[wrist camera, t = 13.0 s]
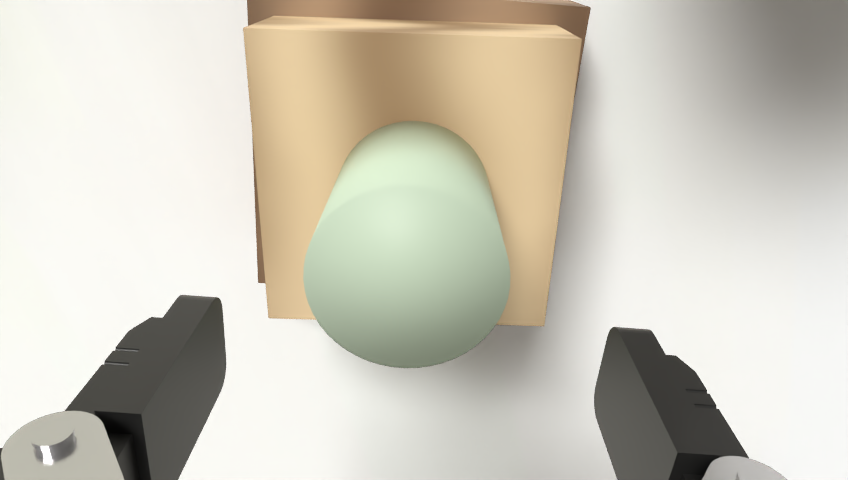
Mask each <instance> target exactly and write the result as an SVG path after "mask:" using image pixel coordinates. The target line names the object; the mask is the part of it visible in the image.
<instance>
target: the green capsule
mask: <svg viewBox="0 0 848 480" xmlns="http://www.w3.org/2000/svg"><path fill="white" fill-rule="evenodd" d="M303 281H304V288H305V294H306V297H307V301H308V304H309V306H310V308H311V311H312V313H313V315H314V316H315V318H316V320H317V321H318V323H319V324H320V326H321V327H322V328H323V329H324V331H325V332H326V333H327V334H328V335H329V336H330V337H331V338H332V339H333V340H334V341H335V342H336V343H338V344H339V345H340V346H342V347H343V348H344V349H346V350H347V351H349V352H351V353H353V354H354V355H356V356H358V357H360V358H363V359H365V360H367V361H370V362H373V363H377V364H380V365H385V366H390V367H399V368H420V367H427V366H433V365H437V364H441V363H444V362H447V361H449V360H452V359H455V358H457V357H459V356H461V355H462V354H464V353H466V352H468V351H469V350H471V349H472V348H474V347H475V346H476V345H477V344H479V343H480V342H481V341H482V340H483V339H484V338H485V337H486V336H487V335H488V334H489V333H490V332H491V331H492V329H493V328H494V327H495V325H496V324H497V322H498V321H499V319H500V317H501V315H502V313H503V311H504V309H505V306H506V303H507V300H508V296H509V290H510V266H509V260H508V256H507V252H506V249H505V245H504V241H503V237H502V233H501V229H500V225H499V221H498V217H497V213H496V209H495V205H494V201H493V197H492V193H491V190H490V186H489V182H488V178H487V174H486V171H485V168H484V166H483V164H482V161H481V160H480V158H479V156H478V155H477V153H476V152H475V151H474V149H473V148H472V147H471V146H470V145H469V144H468V143H467V142H466V141H465V140H464V139H463V138H461V137H460V136H459V135H457V134H456V133H454V132H452V131H451V130H449V129H447V128H445V127H442V126H439V125H437V124H433V123H428V122H422V121H403V122H397V123H392V124H389V125H386V126H383V127H381V128H379V129H377V130H375V131H373V132H371V133H370V134H368V135H367V136H365V137H364V138H363V139H362V140H361V141H359V142H358V143H357V145H356V146H355V147H354V148H353V149H352V150H351V152H350V153H349V155H348V156H347V158H346V160H345V162H344V164H343V166H342V168H341V171H340V173H339V175H338V178H337V180H336V182H335V185H334V187H333V189H332V192H331V194H330V197H329V199H328V201H327V204H326V206H325V208H324V211H323V213H322V215H321V218H320V220H319V223H318V225H317V227H316V230H315V232H314V234H313V237H312V239H311V241H310V244H309V247H308V250H307V253H306V256H305V262H304V272H303Z"/></svg>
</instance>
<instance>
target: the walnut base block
mask: <svg viewBox="0 0 848 480" xmlns="http://www.w3.org/2000/svg"><path fill="white" fill-rule="evenodd" d="M247 8H248V26H250V25H252V24H255V23H257V22H260V21H262V20H265V19H267V18H270V17H272V16H296V17H327V18H357V19H388V20H418V21H448V22H479V23H509V24H540V25H557V26H559V27H561V28H563V29H565V30H566V31H568V32H570V33H572V34H574V35H575V36H577V37H579V38H581V39H582V42H581V49H580V57H579V65H578V72H577V80H578V75H579V69H580V64H581V58H582V53H583V47H584V42H585V36H586V30H587V25H588V19H589V14H590V7H588V6H585V5H582V4H579V3H576V2H573V1H570V0H247ZM577 80H576V86H577ZM575 92H576V88H575ZM574 97H575V95H574ZM252 136H253V134H252ZM253 161H254V187H255V212H256V238H257V264H258V283H265V271H264V260H263V248H262V237H261V225H260V214H259V203H258V191H257V180H256V168H255V157H254V145H253Z"/></svg>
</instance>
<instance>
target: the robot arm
mask: <svg viewBox="0 0 848 480" xmlns="http://www.w3.org/2000/svg"><path fill="white" fill-rule="evenodd" d="M225 372H226V352H225V338H224V324H223V311H222V304H221V301H220V299H219V298H217V297H203V296H190V295H180V296H179V297H178V298H177V299H176V301H175V302H174V303H173V305H172V306H171V307H170V309H169V310H168V312H167V313H166V314H165V316H164V317H163V318H156V317H151V318H149V319H147V320H146V321H144V322H143V323H141V324H139V325H138V326H136V327H134V328H133V329H131V330H130V331H129V332H128V333H127V334H126V335H125V337H124V338H123V339H122V340H121V342H120V343H119V344H118V345H117V347H116V350H115V351H112V353H111V354H110V355H109V356H108V358H107V359H106V360H105V364H104V365H101V366H100V368H99V369H98V370H97V371H96V373H95V374H94V375H93V376H92V378H91V379H90V380H89V381H88V383H87V384H86V385H85V386H84V388H83V389H82V390H81V391H80V393H79V394H78V395H77V396H76V398H75V399H74V400H73V401H72V403H71V404H70V405H69V406H68V408H67V409H66V410H65V411H63V412H57V413H53V414H49V415H46V416H43V417H40V418H38V419H36V420H33V421H31V422H29V423H28V424H26V425H24V426H23V427H21V428H20V429H19V430H17V431H16V432H15V433H14V434H13V435H12V436H11V437H10V438H9V439H8V440H7V441H6V443H5V445H4V447H3V448H0V480H178V479H179V476H180V474H181V472H182V470H183V468H184V466H185V464H186V462H187V460H188V458H189V456H190V454H191V452H192V450H193V448H194V446H195V443H196V441H197V439H198V437H199V435H200V433H201V431H202V429H203V427H204V425H205V423H206V421H207V419H208V417H209V415H210V412H211V410H212V408H213V406H214V404H215V402H216V400H217V398H218V396H219V394H220V392H221V389H222V386H223V383H224V378H225ZM594 407H595V415H596V419H597V422H598V425H599V428H600V430H601V433H602V436H603V439H604V442H605V445H606V448H607V451H608V453H609V456H610V459H611V462H612V465H613V468H614V471H615V474H616V477H617V479H618V480H787V479H786V478H785V477H784V476H782V475H781V474H780V473H778V472H777V471H775V470H774V469H772V468H770V467H769V466H767V465H765V464H763V463H760V462H758V461H755V460H752V459H749V457H748V456H747V454H746V452H745V451H744V449H743V448H742V446H741V444H740V443H739V441H738V440H737V438H736V436H735V435H734V433H733V431H732V430H731V428H730V427H729V425H728V423H727V422H726V420H725V419H724V417H723V415H722V414H721V412H720V410H719V409H716V404H715V402H714V401H713V399H712V398H711V396H710V394H707V390H706V388H705V386H704V385H703V383H702V381H701V380H700V378H699V377H698V375H697V373H696V372H695V371H694V370H692V369H691V368H690V367H689V366H688V365H686V364H685V363H684V362H683V361H682V360H680V359H679V358H678V357H677V356H673V355H665V353H664V351H663V349H662V348H661V346H660V344H659V342H658V341H657V339H656V337H655V335H654V334H653V332H652V331H651V330H647V329H634V328H620V327H613V328H612V329H611V330H610V331H609V334H608V337H607V341H606V345H605V349H604V353H603V358H602V362H601V366H600V370H599V374H598V379H597V383H596V387H595V395H594Z"/></svg>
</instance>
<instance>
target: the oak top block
mask: <svg viewBox="0 0 848 480" xmlns="http://www.w3.org/2000/svg"><path fill="white" fill-rule="evenodd" d="M243 31H244V42H245V54H246V65H247V77H248V88H249V99H250V111H251V122H252V134H253V145H254V157H255V168H256V180H257V191H258V203H259V214H260V225H261V237H262V248H263V260H264V271H265V283H266V294H267V306H268V317H269V318H281V319H315V320H316V318H315V316H314V315H313V313H312V311H311V308H310V306H309V304H308V301H307V297H306V294H305V288H304V281H303V272H304V262H305V256H306V253H307V250H308V247H309V244H310V241H311V239H312V237H313V234H314V232H315V230H316V227H317V225H318V223H319V220H320V218H321V215H322V213H323V211H324V208H325V206H326V204H327V201H328V199H329V197H330V194H331V192H332V189H333V187H334V185H335V182H336V180H337V178H338V175H339V173H340V171H341V168H342V166H343V164H344V162H345V160H346V158H347V156H348V155H349V153H350V152H351V150H352V149H353V148H354V147H355V146H356V145H357V143H358V142H359V141H361V140H362V139H363V138H364V137H365V136H367V135H368V134H370V133H371V132H373V131H375V130H377V129H379V128H381V127H383V126H386V125H389V124H392V123H397V122H403V121H422V122H428V123H433V124H437V125H439V126H442V127H445V128H447V129H449V130H451V131H452V132H454V133H456V134H457V135H459V136H460V137H461V138H463V139H464V140H465V141H466V142H467V143H468V144H469V145H470V146H471V147H472V148H473V149H474V151H475V152H476V153H477V155H478V156H479V158H480V160H481V161H482V164H483V166H484V168H485V171H486V174H487V178H488V182H489V186H490V190H491V193H492V197H493V201H494V205H495V209H496V213H497V217H498V221H499V225H500V229H501V233H502V237H503V241H504V245H505V249H506V252H507V256H508V260H509V266H510V290H509V296H508V300H507V303H506V306H505V309H504V311H503V313H502V315H501V317H500V319H499V321H498V322H497V324H496V325H520V326H544V324H545V316H546V309H547V301H548V293H549V286H550V278H551V270H552V263H553V255H554V248H555V240H556V232H557V225H558V217H559V209H560V202H561V194H562V187H563V179H564V171H565V164H566V156H567V148H568V141H569V133H570V126H571V118H572V110H573V103H574V95H575V88H576V80H577V72H578V65H579V57H580V49H581V42H582V39H581V38H579V37H577V36H575V35H574V34H572V33H570V32H568V31H566V30H565V29H563V28H561V27H559V26H557V25H540V24H509V23H479V22H448V21H418V20H388V19H357V18H327V17H296V16H272V17H270V18H267V19H265V20H262V21H260V22H257V23H255V24H252V25H250V26H247V27H245V28H243Z"/></svg>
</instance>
